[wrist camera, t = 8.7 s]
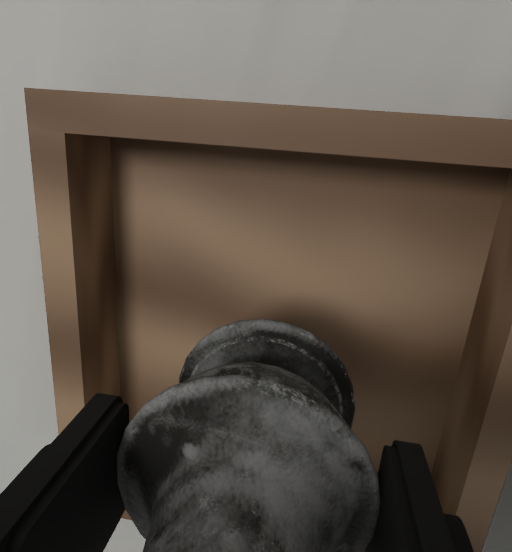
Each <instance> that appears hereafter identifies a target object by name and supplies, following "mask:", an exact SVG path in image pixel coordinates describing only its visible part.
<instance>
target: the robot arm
mask: <svg viewBox="0 0 512 552" xmlns="http://www.w3.org/2000/svg"><path fill="white" fill-rule="evenodd" d="M128 425H129V406H128V404H125V403H123V400H122V398H121V397H120V396H115V395H109V394H102V393H97V394H95V395H94V396H93V397H92V398H91V400H90V401H89V402H88V403H87V404H86V405H85V406H84V407H83V408H82V410H81V411H80V412H79V413H78V414H77V415H76V416H75V417H74V419H73V420H72V421H71V422H70V423H69V424H68V425H67V426H66V427H65V429H64V430H63V431H62V432H61V433H60V434H59V435H58V436H57V438H56V439H55V440H54V441H53V442H52V443H51V444H49V445H46V446H45V447H44V448H43V449H41V450H40V451H39V452H38V454H37V455H36V456H35V457H34V458H33V459H32V460H31V461H30V462H29V463H28V465H27V466H26V467H25V468H24V469H23V470H22V471H21V472H20V473H19V474H18V476H17V477H16V478H15V479H14V480H13V481H12V482H11V483H10V484H9V485H8V487H7V488H6V489H5V490H4V491H3V492H2V493H1V494H0V552H103V550H104V549H105V547H106V545H107V543H108V541H109V539H110V537H111V535H112V534H113V532H114V530H115V528H116V526H117V524H118V522H119V521H120V519H121V517H122V515H123V513H124V511H125V506H124V503H123V500H122V496H121V493H120V490H119V486H118V478H117V452H118V449H119V446H120V443H121V440H122V437H123V434H124V431H125V429H126V427H127V426H128ZM378 479H379V490H380V510H379V515H378V519H377V523H376V528H375V532H374V536H373V539H372V540H371V542H370V543H369V545H368V546H367V548H366V549H365V552H474V550H473V548H472V545H471V542H470V539H469V536H468V534H467V531H466V528H465V526H464V524H463V522H462V520H461V519H460V517H459V516H456V515H450V514H445V513H443V511H442V507H441V504H440V501H439V498H438V495H437V492H436V488H435V485H434V482H433V479H432V476H431V473H430V470H429V466H428V463H427V460H426V457H425V454H424V451H423V448H422V446H421V445H420V444H417V443H411V442H405V441H399V440H394V441H393V443H392V446H387V445H385V446H384V447H383V451H382V456H381V461H380V466H379V470H378Z"/></svg>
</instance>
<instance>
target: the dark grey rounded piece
mask: <svg viewBox="0 0 512 552" xmlns="http://www.w3.org/2000/svg"><path fill="white" fill-rule="evenodd" d="M354 414H355V400H354V389H353V384H352V382H351V380H350V377H349V375H348V372H347V370H346V368H345V365H344V364H343V363H342V361H341V360H340V359H339V358H338V356H337V355H336V354H335V353H334V351H333V350H332V349H331V348H330V347H329V346H328V345H327V344H325V343H324V342H323V341H321V340H320V339H319V338H317V337H316V336H315V335H313V334H312V333H311V332H308V331H306V330H304V329H301V328H299V327H297V326H294V325H292V324H289V323H287V322H281V321H275V320H268V319H251V320H239V321H236V322H233V323H230V324H227V325H225V326H222V327H219V328H217V329H215V330H214V331H212V332H211V333H210V334H208V335H207V336H205V337H204V338H202V339H201V340H200V341H199V342H198V343H197V345H196V346H195V347H194V348H193V350H192V351H191V352H190V354H189V355H188V356H187V358H186V360H185V362H184V365H183V368H182V370H181V373H180V376H179V384H177V385H174V386H170V387H169V388H167V389H166V390H164V391H163V392H161V393H160V394H158V395H157V396H155V397H154V398H152V399H151V400H149V401H148V402H146V403H145V404H144V405H143V406H142V408H141V409H140V410H139V412H138V413H137V414H136V415H135V417H134V418H133V419H132V421H131V422H130V423H129V425H128V426H127V427H126V429H125V431H124V434H123V437H122V440H121V443H120V446H119V449H118V452H117V478H118V486H119V490H120V493H121V496H122V500H123V503H124V506H125V509H126V511H127V513H128V514H129V516H130V517H131V519H132V521H133V522H134V524H135V526H136V527H137V529H138V530H139V532H140V534H141V535H142V536H143V537H144V538H145V539H146V542H145V546H144V550H143V552H364V550H365V549H366V548H367V546H368V545H369V543H370V542H371V540H372V539H373V536H374V532H375V528H376V523H377V519H378V515H379V510H380V490H379V479H378V475H377V473H376V470H375V468H374V466H373V463H372V461H371V459H370V456H369V454H368V452H367V449H366V447H365V445H364V444H363V443H362V442H361V441H360V439H359V438H358V437H357V436H356V434H355V433H354V432H353V431H352V430H351V427H352V423H353V418H354Z"/></svg>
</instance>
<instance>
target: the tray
mask: <svg viewBox="0 0 512 552" xmlns="http://www.w3.org/2000/svg"><path fill="white" fill-rule="evenodd" d="M24 92H25V102H26V112H27V122H28V132H29V142H30V152H31V162H32V172H33V182H34V192H35V202H36V212H37V222H38V232H39V242H40V252H41V262H42V272H43V282H44V292H45V303H46V313H47V323H48V333H49V343H50V353H51V363H52V373H53V383H54V393H55V403H56V413H57V423H58V433H59V434H60V433H61V432H62V431H63V430H64V429H65V427H66V426H67V425H68V424H69V423H70V422H71V421H72V420H73V419H74V417H75V416H76V415H77V414H78V413H79V412H80V411H81V410H82V408H83V407H84V406H85V405H86V404H87V403H88V402H89V401H90V400H91V398H92V397H93V396H94V395H95V394H97V393H102V394H109V395H115V396H120V397H121V398H122V400H123V403H125V404H128V406H129V423H130V422H131V421H132V419H133V418H134V417H135V415H136V414H137V413H138V412H139V410H140V409H141V408H142V406H143V405H144V404H145V403H146V402H148V401H149V400H151V399H152V398H154V397H155V396H157V395H158V394H160V393H161V392H163V391H164V390H166V389H167V388H169V387H170V386H174V385H177V384H179V376H180V373H181V370H182V368H183V365H184V362H185V360H186V358H187V356H188V355H189V354H190V352H191V351H192V350H193V348H194V347H195V346H196V345H197V343H198V342H199V341H200V340H201V339H202V338H204V337H205V336H207V335H208V334H210V333H211V332H212V331H214V330H215V329H217V328H219V327H222V326H225V325H227V324H230V323H233V322H236V321H239V320H251V319H268V320H275V321H281V322H287V323H289V324H292V325H294V326H297V327H299V328H301V329H304V330H306V331H308V332H311V333H312V334H313V335H315V336H316V337H317V338H319V339H320V340H321V341H323V342H324V343H325V344H327V345H328V346H329V347H330V348H331V349H332V350H333V351H334V353H335V354H336V355H337V356H338V358H339V359H340V360H341V361H342V363H343V364H344V365H345V368H346V370H347V372H348V375H349V377H350V380H351V382H352V384H353V389H354V400H355V414H354V418H353V423H352V427H351V430H352V431H353V432H354V433H355V434H356V436H357V437H358V438H359V439H360V441H361V442H362V443H363V444H364V445H365V447H366V449H367V452H368V454H369V456H370V459H371V461H372V463H373V466H374V468H375V470H376V473H377V475H378V470H379V466H380V461H381V456H382V451H383V447H384V446H385V445H387V446H392V443H393V441H394V440H399V441H405V442H411V443H417V444H420V445H421V446H422V448H423V451H424V454H425V457H426V460H427V463H428V466H429V470H430V473H431V476H432V479H433V482H434V485H435V488H436V492H437V495H438V498H439V501H440V504H441V507H442V511H443V513H445V514H450V515H456V516H459V517H460V519H461V520H462V522H463V524H464V526H465V528H466V531H467V534H468V536H469V539H470V542H471V545H472V548H473V550H474V552H481V551H482V548H483V545H484V542H485V539H486V536H487V533H488V530H489V527H490V524H491V521H492V518H493V515H494V512H495V509H496V506H497V503H498V500H499V497H500V494H501V491H502V488H503V485H504V482H505V479H506V476H507V473H508V470H509V467H510V464H511V461H512V120H507V119H491V118H476V117H461V116H446V115H430V114H415V113H400V112H385V111H369V110H354V109H339V108H324V107H308V106H293V105H278V104H263V103H247V102H232V101H217V100H201V99H186V98H171V97H156V96H140V95H125V94H110V93H95V92H79V91H64V90H49V89H34V88H24ZM121 518H124V519H129V520H132V519H131V517H130V516H129V514H128V513H127V511H126V509H125V511H124V513H123V515H122V517H121ZM364 552H365V550H364Z"/></svg>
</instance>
